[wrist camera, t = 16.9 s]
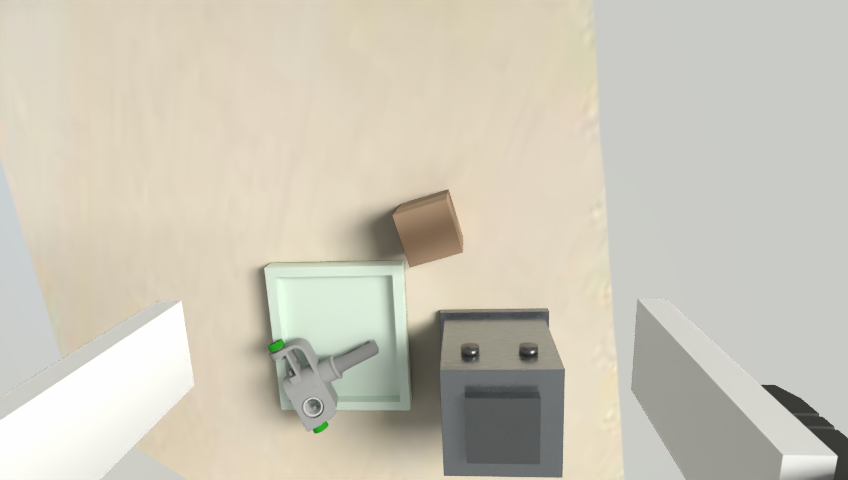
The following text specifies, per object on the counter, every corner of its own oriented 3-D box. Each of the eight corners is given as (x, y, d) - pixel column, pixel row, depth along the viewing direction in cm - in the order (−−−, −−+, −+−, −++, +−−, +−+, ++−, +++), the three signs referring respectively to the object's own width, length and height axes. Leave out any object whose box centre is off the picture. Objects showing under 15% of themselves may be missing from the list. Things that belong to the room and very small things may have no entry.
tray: (271, 262, 53) (264, 268, 51) (404, 259, 52) (401, 265, 50) (287, 400, 57) (281, 409, 55) (411, 400, 56) (410, 410, 54)
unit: (440, 309, 53) (432, 368, 41) (547, 307, 52) (573, 368, 40) (443, 404, 56) (437, 488, 43) (546, 404, 55) (570, 491, 42)
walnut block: (400, 204, 51) (392, 215, 45) (448, 189, 50) (446, 199, 44) (415, 250, 52) (409, 267, 46) (463, 236, 51) (462, 252, 45)
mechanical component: (353, 305, 51) (262, 351, 51) (399, 393, 52) (310, 439, 52) (354, 300, 54) (269, 343, 53) (398, 383, 55) (314, 426, 55)
